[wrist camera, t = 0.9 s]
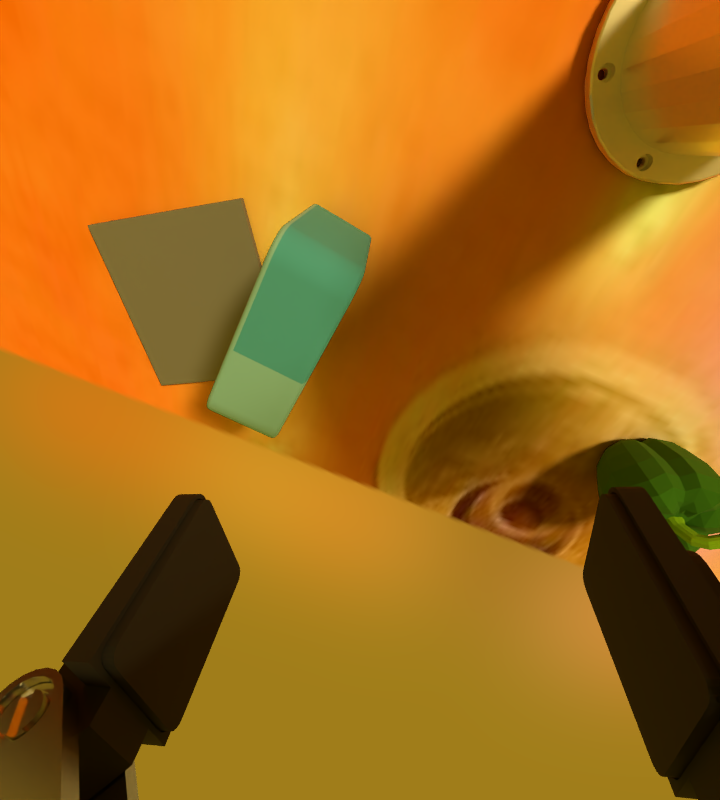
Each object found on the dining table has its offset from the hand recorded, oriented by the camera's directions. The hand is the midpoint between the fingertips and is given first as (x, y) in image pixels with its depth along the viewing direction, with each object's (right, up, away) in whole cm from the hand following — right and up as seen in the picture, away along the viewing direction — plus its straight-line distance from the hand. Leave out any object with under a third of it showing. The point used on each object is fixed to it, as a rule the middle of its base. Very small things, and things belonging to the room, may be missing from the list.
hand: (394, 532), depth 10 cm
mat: (-14, +11, +24) cm, 30 cm away
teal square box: (-5, +12, +22) cm, 26 cm away
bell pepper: (+24, -2, +27) cm, 36 cm away
